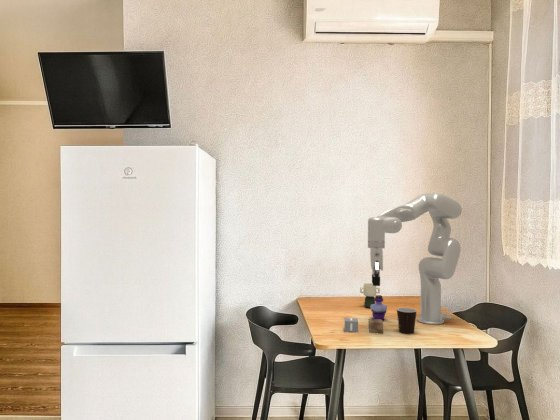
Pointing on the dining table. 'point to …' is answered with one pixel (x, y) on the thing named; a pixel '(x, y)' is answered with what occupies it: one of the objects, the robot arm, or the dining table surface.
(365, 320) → the dining table surface
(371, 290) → the character mug
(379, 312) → the potion bottle
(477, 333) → the dining table surface
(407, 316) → the coffee mug
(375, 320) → the walnut block
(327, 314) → the dining table surface
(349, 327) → the marked slate block
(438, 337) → the dining table surface
